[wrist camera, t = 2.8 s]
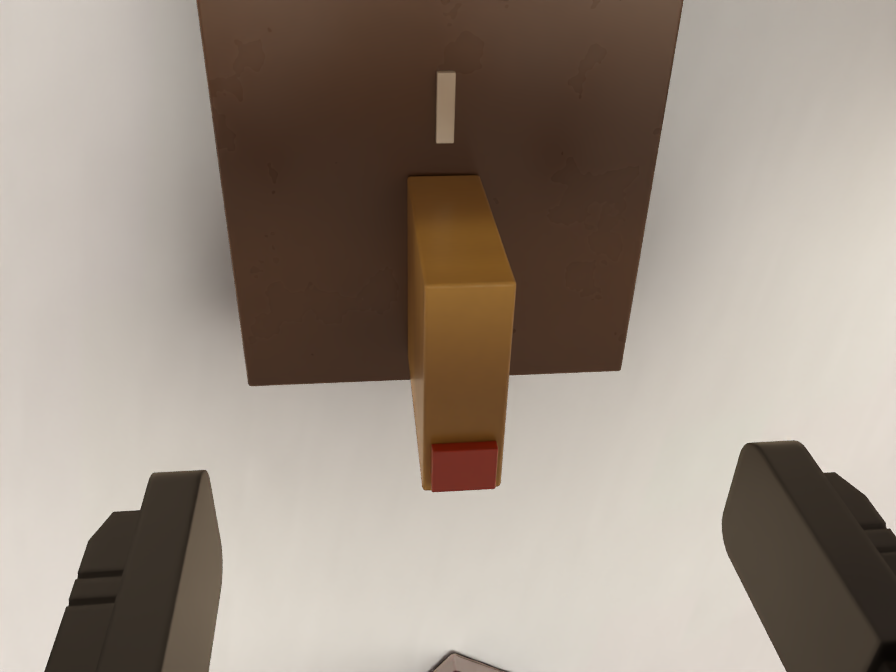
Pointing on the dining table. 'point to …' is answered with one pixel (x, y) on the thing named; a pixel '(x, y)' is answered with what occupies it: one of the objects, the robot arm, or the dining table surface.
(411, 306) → the lock knob
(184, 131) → the dining table surface
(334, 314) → the plate
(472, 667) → the supplement box
